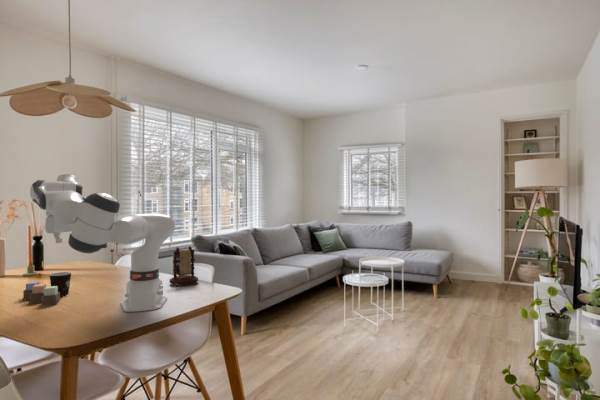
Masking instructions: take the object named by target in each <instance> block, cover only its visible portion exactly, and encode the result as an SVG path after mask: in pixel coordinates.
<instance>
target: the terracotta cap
mask: <svg viewBox="0 0 600 400" xmlns="http://www.w3.org/2000/svg"><path fill="white" fill-rule="evenodd" d="M46 287H47V283H43V284H42V283H39V284H37V285H34V286H33V287H32V294H34V293H44V288H46Z"/></svg>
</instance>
